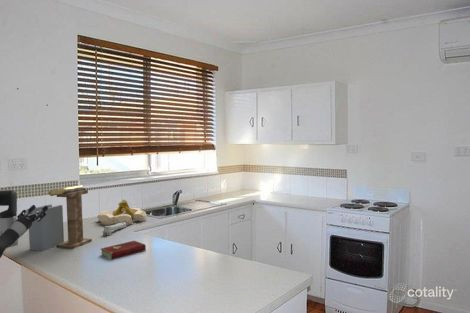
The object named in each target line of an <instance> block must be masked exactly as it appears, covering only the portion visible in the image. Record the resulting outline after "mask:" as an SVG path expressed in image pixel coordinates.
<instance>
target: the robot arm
mask: <svg viewBox="0 0 470 313" xmlns="http://www.w3.org/2000/svg"><path fill="white" fill-rule="evenodd" d="M1 206H2V207H3V206H4V207H5V206H6V207H7V206H8V208H7V209H5V210H3V211H1V212H0V259H1V258H2V256H3V254H4V252H5V251H6V249H8V248H9V247H12V246H17V245H18V244H19V238H21V237H22V236H23V235H24V234H25V233H26V232H27V231H29V228H30V227H31V226H32V222H34V221H35V220H37V222H39V221H40V220H41V219H42V218H43V217H45V216H46V213H45V212H46V211H47V210H48V207H47V206H45V205H43V206H44V207H43V208H42V209H41V210H40V211H36V212H34V213H31V212H32V211H33V210H34V209H35V208H36V205H35V204H32V205H31V206H30V207H29V208H26V209H23V210H22V211H21V212H20V213H17V212H18V195H17V192H16V191H15V190H14V189H8V190H7V189H6V190H5V189H4V190H0V207H1ZM40 212H41V213H40ZM39 213H40V214H39ZM36 214H37V215H38V216H36ZM42 215H43V216H42Z"/></svg>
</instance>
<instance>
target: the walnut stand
mask: <svg viewBox="0 0 470 313" xmlns="http://www.w3.org/2000/svg"><path fill="white" fill-rule="evenodd" d="M86 194H89V190H88V189H86V187H83V188H82V189H77V190H72V191H67V192H65V193H64V194H59V195H56V197H57V198H65V201H66V217H67V218H66V220H67V223H66V224H67V240H64V242H63V243H60V244H57V246H56V248H62V249H72V250H74V249H76V248H79V247H81V246H84V245H86V244H88V243H91V242H93V239H92V238H85V237H84V225H83V220H84V219H83V201H82V200H83V199H82V198H83V197H82V196H83V195H86Z"/></svg>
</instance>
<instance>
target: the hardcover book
mask: <svg viewBox="0 0 470 313" xmlns="http://www.w3.org/2000/svg"><path fill="white" fill-rule="evenodd" d="M146 248H147V246H146V244H145V243H143V242H139V241H137V240H131V241H126V242H122V243H118V244H113V245H110V246H104V247H101V248H100V250H101V256H103V255H104V257H106V258H108V259H110V260H114V259H118V258H122V257H125V256H129V255H133V253H134V254H137V253H141V252H143V251H144V250H145V251H147V249H146ZM140 251H141V252H140ZM145 251H144V252H145Z"/></svg>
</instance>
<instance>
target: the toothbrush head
mask: <svg viewBox="0 0 470 313" xmlns="http://www.w3.org/2000/svg"><path fill="white" fill-rule="evenodd" d="M127 226H128V225H127V224H126V223H125V222H120V223H118V224H116V223H114V224H113V225H104V227H103V230H102V235H103V236H104V237H105V236H106V237H107V236H111V235H112V232H113V231H116V230H120V229H124V228H126V227H127Z"/></svg>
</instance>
